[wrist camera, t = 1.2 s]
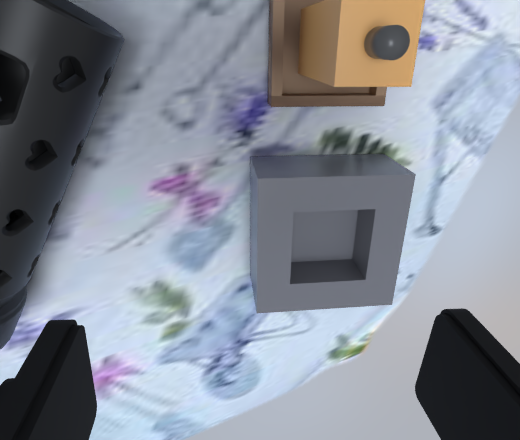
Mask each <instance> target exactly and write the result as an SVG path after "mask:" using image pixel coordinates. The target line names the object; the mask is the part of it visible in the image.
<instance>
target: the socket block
mask: <svg viewBox="0 0 520 440" xmlns="http://www.w3.org/2000/svg"><path fill="white" fill-rule="evenodd" d="M415 175H416V174H414V173H413V172H411V171H410V170H408V169H407V168H405V167H404V166H402V165H400V164H399V163H397V162H396V161H394V160H393V159H391V158H390V157H388V156H386V155H385V154H349V155H303V156H256V157H250V276H251V282H252V288H253V293H254V299H255V305H256V311H257V313H268V312H284V311H299V310H315V309H330V308H346V307H361V306H377V305H392V301H393V296H394V290H395V285H396V279H397V274H398V268H399V263H400V257H401V252H402V246H403V241H404V235H405V230H406V224H407V219H408V213H409V208H410V202H411V197H412V191H413V186H414V180H415Z"/></svg>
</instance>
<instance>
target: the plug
mask: <svg viewBox="0 0 520 440" xmlns="http://www.w3.org/2000/svg"><path fill="white" fill-rule="evenodd" d="M424 4H425V0H324V1H321V2H319V3H316V4H313V5H310V6H308V7H305V8H302V9H301V21H300V42H299V64H298V74H300V75H303V76H306V77H309V78H311V79H314V80H317V81H320V82H322V83H325V84H328V85H331V86H333V87H411V84H412V78H413V72H414V66H415V59H416V53H417V47H418V41H419V35H420V28H421V22H422V16H423V10H424Z"/></svg>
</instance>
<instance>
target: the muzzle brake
mask: <svg viewBox="0 0 520 440" xmlns="http://www.w3.org/2000/svg"><path fill="white" fill-rule="evenodd" d="M123 42H124V38H123V36H122V35H121V34H120V33H119V32H118V31H117V30H115V29H114V28H113V27H111V26H110V25H108V24H106V23H105V22H103V21H102V20H100V19H99V18H97V17H95V16H94V15H92V14H90V13H88V12H87V11H85V10H83V9H82V8H80V7H78V6H76V5H74V4H73V3H71V2H69V1H67V0H0V349H2V348H3V347H4V346H5V344H6V343H7V342H8V341H9V340H10V338H11V336H12V334H13V332H14V330H15V327H16V325H17V322H18V320H19V317H20V315H21V312H22V310H23V307H24V305H25V302H26V295H27V292H26V286H25V285H26V284H27V283H28V282H29V280H30V278H31V276H32V274H33V271H34V269H35V266H36V264H37V261H38V258H39V256H40V253H41V251H42V248H43V246H44V243H45V241H46V238H47V236H48V233H49V230H50V228H51V225H52V223H53V220H54V218H55V215H56V213H57V210H58V207H59V205H60V202H61V200H62V197H63V195H64V192H65V190H66V187H67V185H68V182H69V179H70V177H71V174H72V172H73V169H74V167H75V164H76V162H77V159H78V156H79V154H80V151H81V148H82V146H83V144H84V141H85V139H86V136H87V134H88V131H89V128H90V126H91V123H92V121H93V118H94V116H95V113H96V111H97V108H98V105H99V103H100V100H101V98H102V95H103V93H104V90H105V88H106V85H107V82H108V79H109V77H110V75H111V72H112V70H113V67H114V65H115V62H116V60H117V57H118V54H119V52H120V49H121V47H122V44H123Z"/></svg>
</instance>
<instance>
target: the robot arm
mask: <svg viewBox="0 0 520 440" xmlns="http://www.w3.org/2000/svg"><path fill="white" fill-rule="evenodd" d="M415 391H416V395H417V398H418V400H419V402H420V404H421V406H422V407H423V409H424V411H425V412H426V414H427V416H428V418H429V419H430V421H431V423H432V425H433V426H434V428H435V430H436V431H437V433H438V435H439V437H440V438H441V440H520V364H519V363H518V362H517V361H516V360H515V358H513V356H512V355H511V354H510V353H509V352H508V351H507V350H506V349H505V348H504V347H503V346H502V345H501V344H500V343H499V342H498V341H497V340H496V339H495V338H494V337H493V336H492V334H490V332H489V331H488V330H487V329H486V328H485V327H484V326H483V325H482V324H481V323H480V322H479V321H478V320H477V319H476V318H475V317H474V316H473V315H472V314H471V313H470V312H469V311H468V310H466V309H445V310H443V311H442V312H441V314H440V315H437V316H436V318H435V321H434V324H433V327H432V331H431V334H430V338H429V341H428V344H427V348H426V351H425V354H424V358H423V361H422V364H421V368H420V371H419V375H418V378H417V381H416V385H415ZM96 411H97V401H96V395H95V389H94V383H93V376H92V370H91V364H90V358H89V352H88V346H87V340H86V333H85V328H84V326H82V325H78V326H77V322H76V321H75V320H50V321H48V323H47V324H46V326H45V327H44V329H43V331H42V332H41V334H40V336H39V338H38V339H37V341H36V343H35V344H34V346H33V348H32V350H31V351H30V353H29V355H28V356H27V358H26V360H25V362H24V363H23V365H22V367H21V368H20V370H19V372H18V374H17V375H16V377H15V378H11V379H7V380H5V381H4V382H3V383H2V384H1V385H0V440H89V437H90V433H91V430H92V427H93V424H94V420H95V417H96Z"/></svg>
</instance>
